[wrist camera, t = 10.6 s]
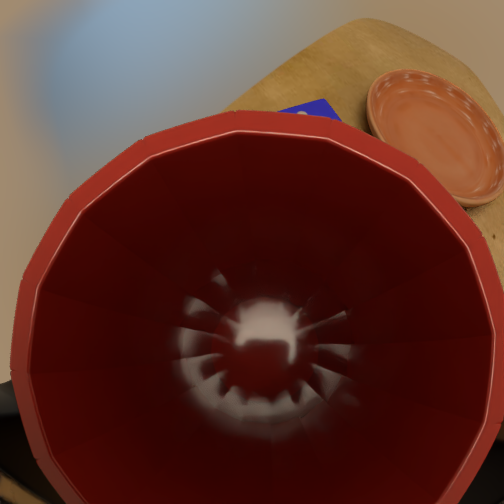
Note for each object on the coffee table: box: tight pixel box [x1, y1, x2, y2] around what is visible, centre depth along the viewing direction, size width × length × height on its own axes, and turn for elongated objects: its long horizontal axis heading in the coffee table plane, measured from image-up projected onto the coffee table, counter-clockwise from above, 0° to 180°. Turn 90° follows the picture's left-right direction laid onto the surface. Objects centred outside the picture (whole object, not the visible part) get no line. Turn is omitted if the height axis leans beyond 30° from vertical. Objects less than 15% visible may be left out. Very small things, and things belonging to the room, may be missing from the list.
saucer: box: [366, 69, 504, 207], centre depth 23 cm, size 16×16×3 cm
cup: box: [10, 110, 504, 504], centre depth 9 cm, size 6×6×13 cm
